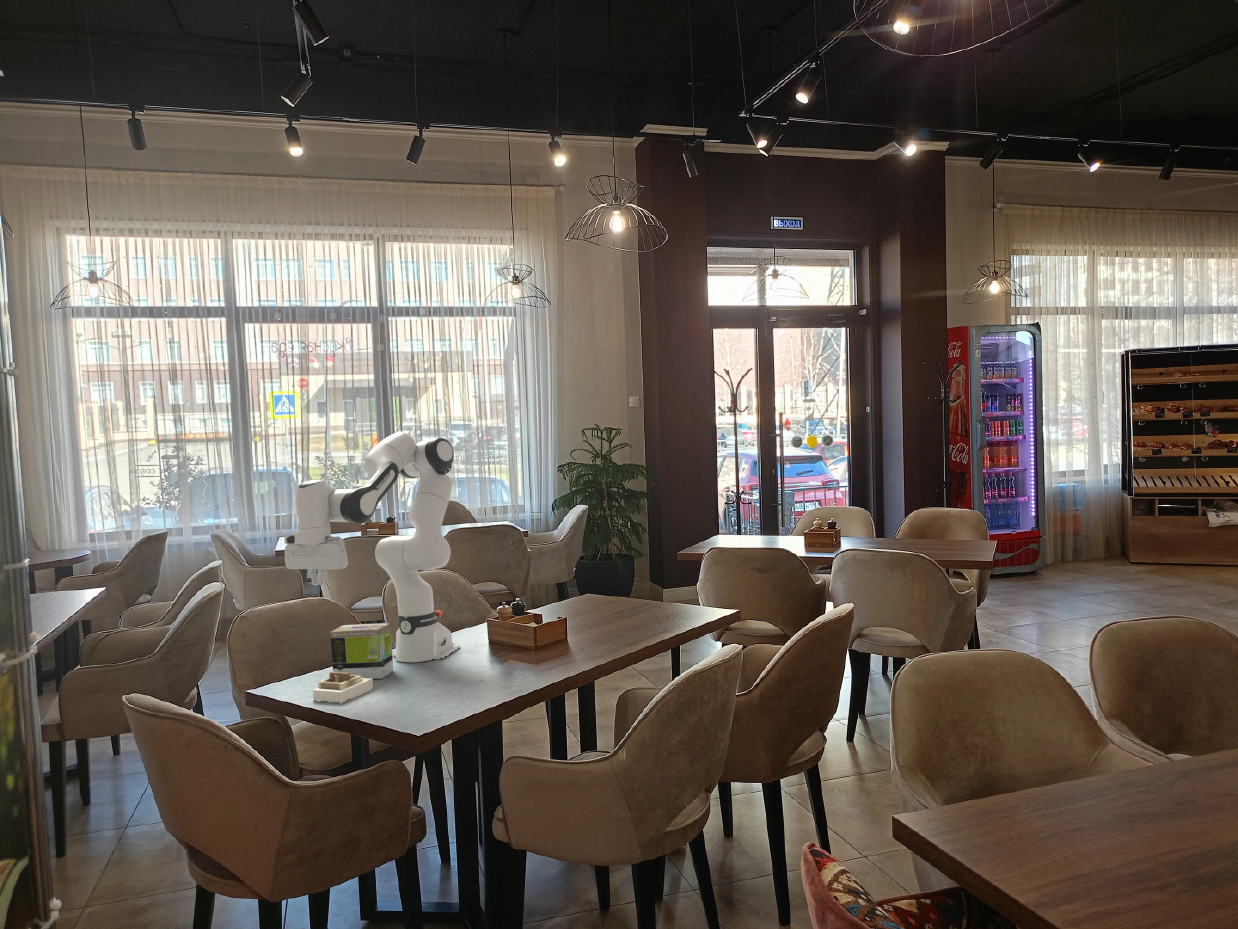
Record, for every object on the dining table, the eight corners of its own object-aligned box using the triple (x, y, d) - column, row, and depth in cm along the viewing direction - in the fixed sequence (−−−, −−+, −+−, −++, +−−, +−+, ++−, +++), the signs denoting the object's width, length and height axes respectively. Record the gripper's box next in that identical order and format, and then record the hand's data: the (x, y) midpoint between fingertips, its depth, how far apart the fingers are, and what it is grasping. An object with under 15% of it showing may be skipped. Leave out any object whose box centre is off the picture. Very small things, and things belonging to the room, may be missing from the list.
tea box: (394, 670, 261) (391, 622, 261) (381, 680, 251) (378, 629, 251) (346, 672, 262) (343, 623, 262) (332, 681, 252) (329, 631, 252)
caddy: (339, 690, 242) (337, 668, 242) (362, 691, 239) (360, 669, 239) (319, 698, 235) (317, 676, 235) (342, 700, 232) (341, 677, 232)
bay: (345, 687, 245) (345, 676, 245) (373, 689, 241) (372, 678, 241) (313, 701, 233) (312, 690, 233) (341, 703, 229) (341, 692, 229)
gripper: (351, 535, 247) (354, 583, 248) (295, 535, 255) (298, 582, 256) (336, 537, 242) (339, 587, 242) (279, 538, 249) (282, 586, 250)
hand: (318, 584), depth 249 cm, fingers closed
